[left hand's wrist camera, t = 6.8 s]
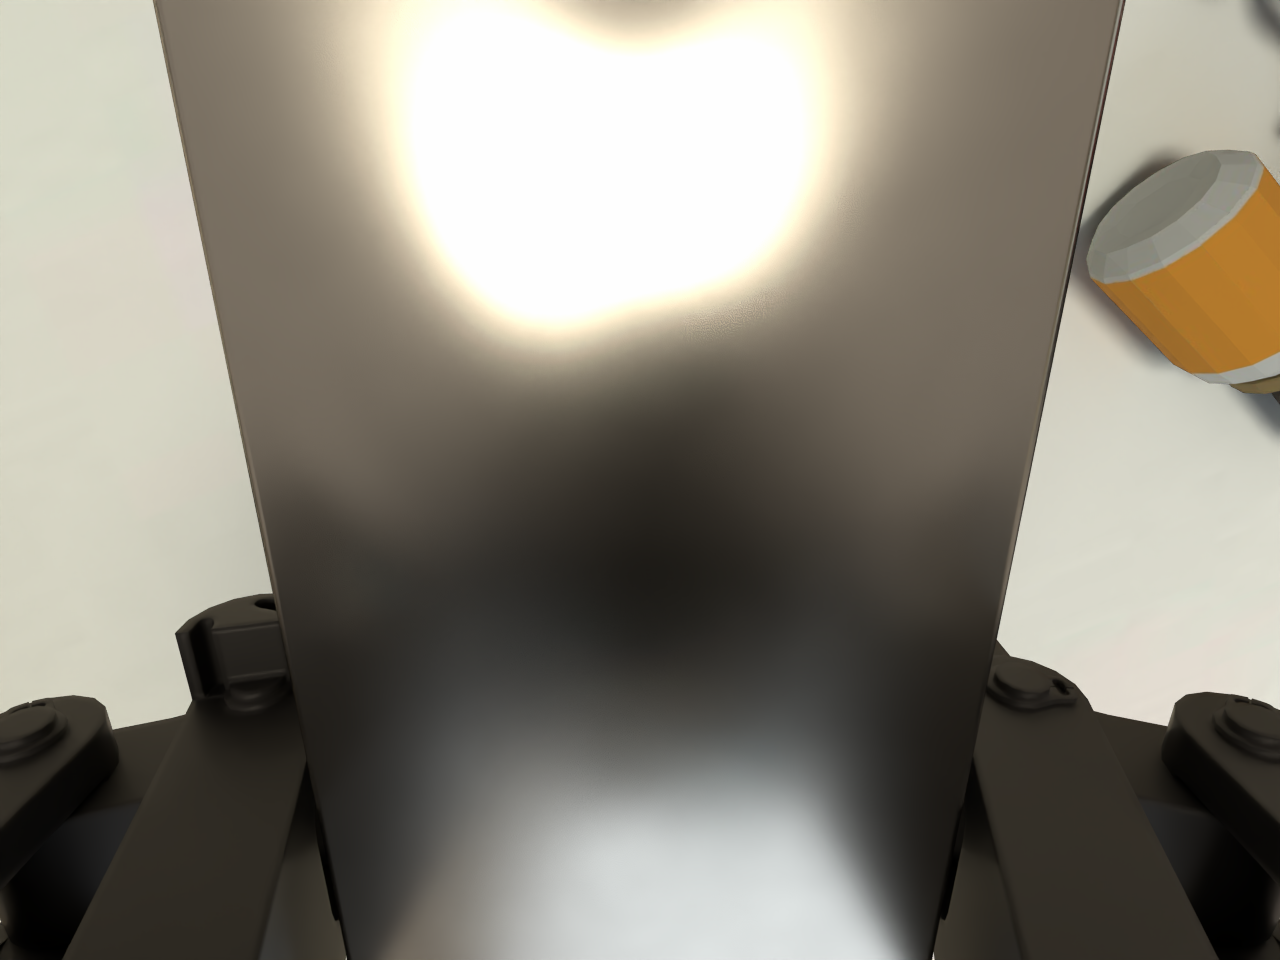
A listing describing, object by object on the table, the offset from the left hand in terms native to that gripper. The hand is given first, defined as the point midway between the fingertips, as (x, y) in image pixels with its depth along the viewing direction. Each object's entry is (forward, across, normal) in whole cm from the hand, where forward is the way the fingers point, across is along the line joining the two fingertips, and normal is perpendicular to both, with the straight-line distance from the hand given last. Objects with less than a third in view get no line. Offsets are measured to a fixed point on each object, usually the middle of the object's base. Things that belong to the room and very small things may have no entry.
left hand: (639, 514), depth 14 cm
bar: (+1, 0, -13) cm, 13 cm away
